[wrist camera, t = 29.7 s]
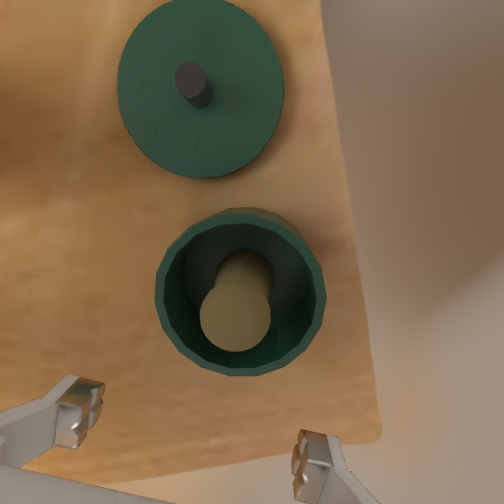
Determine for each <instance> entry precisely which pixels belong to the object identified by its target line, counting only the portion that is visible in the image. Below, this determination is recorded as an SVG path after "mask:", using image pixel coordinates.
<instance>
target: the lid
mask: <svg viewBox="0 0 504 504" xmlns="http://www.w3.org/2000/svg"><path fill="white" fill-rule="evenodd" d="M117 95H118V103H119V107H120V112H121V115H122V118H123V121H124V124H125V126H126V128H127V130H128V132H129V134H130V136H131V137H132V139H133V140H134V142H135V143H136V145H137V146H138V147H139V148H140V149H141V151H142V152H143V153H144V154H145V155H146V156H147V157H148V158H150V159H151V160H152V161H153V162H155V163H156V164H157V165H159V166H160V167H162V168H164V169H166V170H168V171H170V172H172V173H175V174H177V175H181V176H185V177H189V178H198V179H207V178H216V177H221V176H224V175H228V174H230V173H233V172H235V171H237V170H239V169H241V168H242V167H244V166H245V165H247V164H248V163H250V162H251V161H252V160H253V159H254V158H256V157H257V156H258V154H259V153H260V152H261V151H262V150H263V149H264V148H265V146H266V145H267V143H268V142H269V141H270V139H271V137H272V135H273V133H274V131H275V129H276V126H277V124H278V121H279V118H280V114H281V110H282V104H283V96H284V83H283V74H282V69H281V65H280V61H279V58H278V55H277V52H276V50H275V47H274V45H273V44H272V42H271V40H270V38H269V36H268V35H267V34H266V32H265V31H264V29H263V28H262V27H261V26H260V25H259V24H258V22H257V21H256V20H255V19H254V18H253V17H251V16H250V15H249V14H248V13H246V12H245V11H244V10H242V9H241V8H239V7H237V6H235V5H234V4H231V3H229V2H227V1H224V0H173V1H171V2H168V3H166V4H164V5H162V6H160V7H158V8H157V9H155V10H154V11H153V12H151V13H150V14H149V15H147V16H146V17H145V18H144V19H143V20H142V21H141V22H140V23H139V25H138V26H137V27H136V29H135V30H134V31H133V33H132V34H131V36H130V38H129V40H128V41H127V43H126V45H125V48H124V50H123V53H122V56H121V60H120V63H119V68H118V75H117Z"/></svg>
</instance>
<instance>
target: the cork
mask: <svg viewBox="0 0 504 504" xmlns="http://www.w3.org/2000/svg"><path fill="white" fill-rule="evenodd" d="M273 285H274V272H273V269H272V267H271V264H270V263H269V262H268V261H267V260H266V258H265V257H263V256H262V255H260V254H259V253H257V252H253V251H250V250H238V251H235V252H233V253H230V254H229V255H227V256H226V257H225V258H224V259H222V261H221V263H220V264H219V266H218V268H217V272H216V276H215V284H214V288H213V289H212V290H210V291H209V293H208V294H207V296H206V298H205V299H204V301H203V302H202V306H201V310H200V321H201V327H202V330H203V332H204V334H205V336H206V337H207V338H208V339H209V340H210V341H211V343H213V344H214V345H216V346H217V347H219V348H221V349H224V350H228V351H244V350H247V349H250V348H252V347H254V346H255V345H257V344H258V343H259V342H260V341H261V340H262V339H263V337H264V336H265V335H266V333H267V332H268V329H269V325H270V322H271V315H270V306H269V303H268V299H269V297H270V294H271V292H272V289H273Z"/></svg>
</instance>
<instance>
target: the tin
mask: <svg viewBox="0 0 504 504" xmlns="http://www.w3.org/2000/svg"><path fill="white" fill-rule="evenodd" d="M238 250H250V251H253V252H257V253H259V254H260V255H262V256H263V257H265V258H266V260H267V261H268V262H269V263H270V264H271V267H272V269H273V272H274V285H273V289H272V292H271V294H270V297H269V299H268V303H269V306H270V315H271V322H270V325H269V329H268V332H267V333H266V335H265V336H264V337H263V339H262V340H261V341H260V342H259V343H258V344H257V345H255V346H254V347H252V348H250V349H247V350H244V351H228V350H224V349H221V348H219V347H217V346H216V345H214V344H213V343H211V341H210V340H209V339H208V338H207V337H206V336H205V334H204V332H203V330H202V327H201V321H200V310H201V306H202V302H203V301H204V299H205V298H206V296H207V294H208V293H209V291H210V290H212V289H213V288H214V284H215V276H216V272H217V268H218V266H219V264H220V263H221V261H222V259H224V258H225V257H226V256H227V255H229V254H230V253H233V252H235V251H238ZM325 303H326V291H325V286H324V280H323V275H322V270H321V267H320V266H319V264H318V262H317V261H316V259H315V257H314V256H313V254H312V253H311V251H310V249H309V248H308V246H307V244H306V243H305V241H304V240H303V238H302V236H301V235H300V233H299V231H298V230H296V229H295V228H294V227H293V226H291V225H290V224H289V223H288V222H286V221H285V220H284V219H282V218H281V217H280V216H278V215H276V214H273V213H270V212H267V211H264V210H260V209H257V208H230V209H226V210H224V211H222V212H219V213H217V214H214V215H212V216H210V217H207V218H205V219H203V220H202V221H200V222H198V223H196V224H194V225H192V226H191V227H189V228H188V229H187V230H186V231H185V232H184V233H183V234H182V235H181V236H180V237H179V238H178V239H177V240H176V241H174V242H173V243H172V244H171V245H170V246H169V248H168V249H167V251H166V253H165V256H164V258H163V260H162V262H161V264H160V266H159V268H158V271H157V274H156V286H155V305H156V309H157V312H158V315H159V319H160V322H161V325H162V328H163V330H164V332H165V333H166V334H167V336H168V337H169V338H170V340H171V341H172V342H173V344H174V345H175V347H176V348H177V349H178V351H179V352H180V353H182V354H183V355H185V356H186V357H187V358H189V359H190V360H192V361H193V362H194V363H196V364H197V365H199V366H200V367H203V368H205V369H208V370H211V371H214V372H218V373H221V374H224V375H227V376H259V375H262V374H265V373H268V372H271V371H274V370H277V369H280V368H282V367H284V366H286V365H287V364H289V363H290V362H291V361H292V360H294V359H295V358H296V357H297V356H299V355H300V354H301V353H303V352H304V351H305V350H306V349H307V348H308V346H309V345H310V343H311V341H312V340H313V338H314V336H315V335H316V333H317V332H318V330H319V328H320V327H321V324H322V319H323V314H324V309H325Z"/></svg>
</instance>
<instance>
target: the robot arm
mask: <svg viewBox="0 0 504 504" xmlns="http://www.w3.org/2000/svg"><path fill="white" fill-rule="evenodd" d="M104 392H105V384H104V383H102V382H98V381H94V380H90V379H86V378H82V377H78V376H74V375H70V374H69V375H66V376H65V377H63V378H62V379H61V380H60V381H59V382H58V383H57V384H56V385H55V386H54V387H53V388H52V389H51V390H50V391H49V392H48V393H47V394H46V395H45V396H44V397H43V398H42V399H41V400H39V399H35V400H32V401H30V402H27V403H24V404H21V405H19V406H16V407H13V408H10V409H8V410H5V411H2V412H0V504H174V503H170V502H166V501H161V500H157V499H152V498H147V497H143V496H139V495H135V494H130V493H126V492H121V491H117V490H113V489H108V488H104V487H100V486H95V485H91V484H86V483H82V482H78V481H73V480H69V479H65V478H60V477H56V476H51V475H47V474H43V473H38V472H34V471H30V470H25V469H21V468H20V467H21V466H23V465H25V464H26V463H28V462H29V461H31V460H33V459H34V458H36V457H38V456H39V455H41V454H43V453H44V452H46V451H47V450H49V449H51V448H52V447H53V446H58V447H63V448H68V449H73V450H77V449H78V447H79V446H80V444H81V443H82V441H83V440H84V439H85V437H86V435H87V430H88V429H90V428H92V427H93V426H94V424H95V423H96V421H97V419H98V417H99V415H100V413H101V410H102V405H103V401H102V399H101V396H102V395H103V394H104ZM291 467H292V474H293V475H294V476H295V479H294V482H293V489H294V499H295V501H300V502H303V503H307V504H380V503H379V502H378V501H377V500H376V498H375V497H374V496H373V495H372V494H371V493H370V492H369V491H368V489H367V488H366V487H365V486H364V485H363V484H362V483H361V482H360V481H359V479H358V478H357V477H356V476H355V475H354V474H353V473H352V472H351V471H348V470H347V466H346V463H345V459H344V456H343V452H342V449H341V446H340V442H339V439H338V437H337V436H332V435H328V434H321V433H317V432H312V431H308V430H304V429H301V430H300V431H299V434H298V444H297V445H295V447H294V450H293V455H292V464H291Z"/></svg>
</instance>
